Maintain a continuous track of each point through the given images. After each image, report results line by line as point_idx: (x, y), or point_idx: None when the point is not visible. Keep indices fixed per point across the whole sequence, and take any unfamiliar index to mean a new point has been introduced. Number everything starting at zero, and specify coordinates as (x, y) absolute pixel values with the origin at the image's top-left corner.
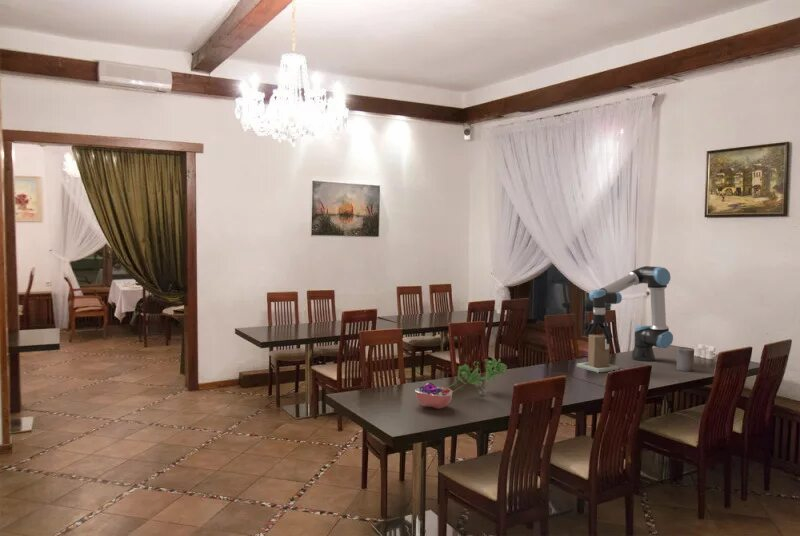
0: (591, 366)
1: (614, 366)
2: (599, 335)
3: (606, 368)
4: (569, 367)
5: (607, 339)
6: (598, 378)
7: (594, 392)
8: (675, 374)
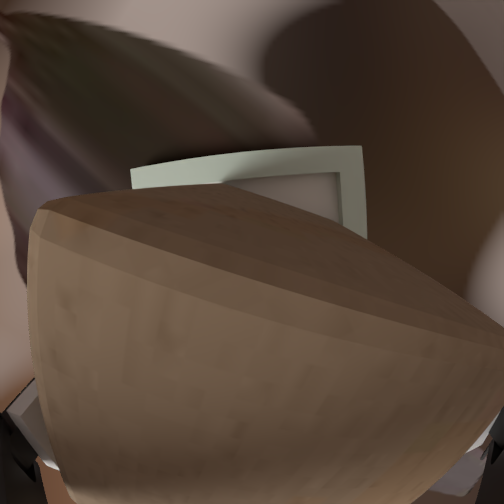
0: None
1: (350, 179)
2: (222, 490)
3: None
4: None
5: (496, 419)
6: None
7: (476, 456)
8: (481, 3)
